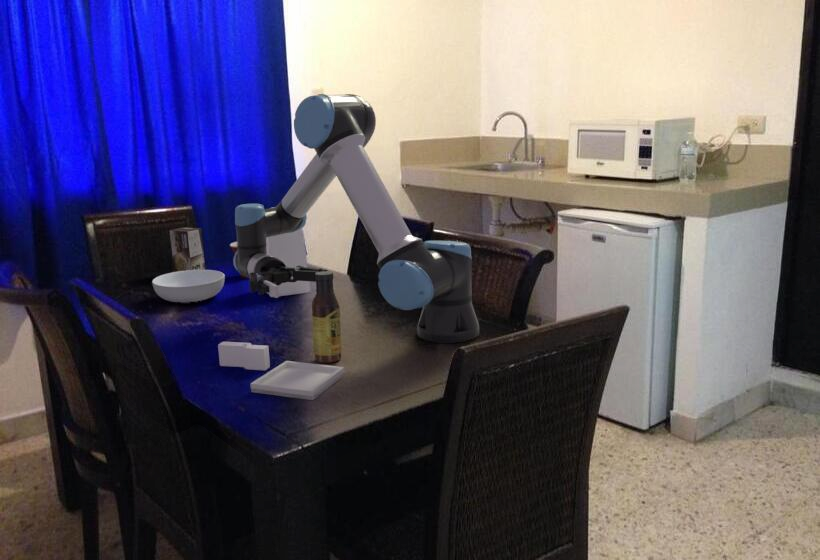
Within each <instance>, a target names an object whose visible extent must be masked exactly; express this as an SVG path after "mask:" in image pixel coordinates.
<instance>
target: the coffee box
mask: <svg viewBox="0 0 820 560" xmlns="http://www.w3.org/2000/svg"><path fill="white" fill-rule="evenodd" d="M202 233H203V231H202V228H199V227H196V228H195V227H178V228H174V229H169V237H170V247H171V254H172V255H171V256H172V263H173V272H178V271H187V270H206V265H205V264H206V263H205V255H204V245H203V235H202Z"/></svg>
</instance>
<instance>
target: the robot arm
mask: <svg viewBox="0 0 820 560" xmlns="http://www.w3.org/2000/svg"><path fill="white" fill-rule="evenodd" d="M376 120H377V119H376V113H375V111H374V109H373V107H372V105H371V103H370V102H368V101H367V99H365V98H364V97H361V96H360V95H357V94H353V93H352V94H351V93H348V94H347V93H346V94H327V95H326V94H325V93H324V94H323V93H320V94H316V95H310V96H306V97H305V98H304V99H303V100H302V101H300V103H299V104H298V106H297V107H296V109H295V113H294V119H293V129H294V133H295V137H296V138H297V141H299V143H300V144H301V145H302V146H304V147H306V148H308V149H311V150H312V149H314V150H315V153H316V154H315V155H314V156H313V158H312V159H311V161H309V163H308V164H307V166H306V167H305V168H304V169H303V171H302V172H301V174H300V175H299V176H298V177H297V179H296V180H295V182H294V183H293V184H292V186H291V187H290V188H289V190H288V191H287V193H286V194H285V195H284V197H283V198H282V199H281V201H280V202H278V204H277V205H275V206H274V208H272V207H270V208H265V207H264V205H263V204H260V203H245V204H244V203H243V204H240V205H237V206H236V207H235V209H234V224H235V230H236V232H235V233H236V242H237V252H236V253H235V254H234V256H233V259H232V260H233V261H232V262H233V267H234V268H235V269H236V271H237V272H238V273H239V274H240V273H241V274H242V275H244V276H246V277H249V278H248V279H249V292H250V293H255V292H256V291H258V295H259V296H262V295H263V296H264V293H265V294H267V295H269V296H270V295H271V296H273V297H272V298H275V299H277V298H279V297H280V296H279V292H278V286H279V285H281V284H282V283H286V282H296V281H309V282H311V283H316V280H315V273H317V272H323V271H328V269H325V268H324V269H323V268H322V267H321V268H315V267H308V266H307V267H303V266H297V268H288V267H286V265H285V264H284V263H283V262H282V261H281V260H280V259H277V258H275V257H273V256H270V255H268V254H267V250H266V238H267V237H271V236H276V235H280V234H285V233H292V232H295V231H297V230H300V229H302V230H303V228H304V227H305V226H306V223H307V219H308V217H307V214H308V212H309V211H310V210H311V208H312V207H313V206H314V205H315V204H316V202H318V200H319V199H320V197H321V196H322V195H323V193H324V192H325V191H326V189H327V188H328V187H329V186H330V184H331V183H332V182H333V180H335V178H336V177H337V179H338V181H339V183H340V185H341V186H342V188H343V190H344V192H345V194H346V196H347V198H348V200H349V201H350V203H351V205H352V207H353V209H354V210H355V212H356V214H357V216H358V217H359V219H360V221H361V223H362V225H363V226H364V229H365V230H366V232H367V234H368V236H369V238H370V239H371V241H372V244H373V245H374V247H375V249H376V251H377V252H378V257H377V261H376V264H377V267H378V268H379V272H378V282H377V285H378V288H379V291H380V294H381V295H382V296H383V298H384V299H385V300H386V302H387V303H388V304H390V305H391V306H392V307H394V308H396V309H400V310H403V311H412V310H414V309H415V310H416V309H420V308H422V310H421V313H420V317H419V320H418V322H417V336H418V337H419V338H420V339H422V340H424V341H427V342H431V343H437V344H439V343H440V344H455V342H458V343H464V342H467V341H466V340H469V341H472V340H474V339H476V338H478V336H479V335H480V323H479V320H478V318H477V315H476V312H475V311H476V310H475V308H474V305H473V301H472V300H473V298H472V297H473V295H472V291H473V289H472V288H473V286H472V283H473V282H472V280H473V279H472V277H473V276H472V273H473V272H472V268H473V267H472V263H473V262H472V260H473V257H472V249H471V245H469V244H468V243H466V242H463V241H462V242H461V241H453V240H425V241H423V239H422V238H419V237H416V236H414V235H413V234H412V233H411V231H410V229H409V227H408V226H407V224H406V222H405V220H404V218H403V216H402V215H401V213H400V211H399V209H398V207H397V205H396V204H395V202H394V200H393V198H392V197H391V195H390V192H389V191H388V189H387V188H386V186H385V184H384V182H383V180H382V179H381V177H380V175H379V173H378V171H377V169H376V167H375V166H374V163H373V162H372V160H371V158H370V157H369V155H368V153H367V151H366V150H365V147H366V146H367V145H368V143H369V141H370V140H371V139H372V137H373V134H374V133H375V131H376V124H377V121H376ZM292 276H293V279H291V278H292ZM271 296H270V297H271ZM471 339H472V340H471ZM463 341H464V342H463Z"/></svg>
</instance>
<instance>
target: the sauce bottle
mask: <svg viewBox="0 0 820 560" xmlns="http://www.w3.org/2000/svg"><path fill="white" fill-rule="evenodd" d="M315 280H316V282H315V286H316V289H315V292H316V294H315V296H314V297H313V300H312V303H311V321H312V323H311V324H312V341H313V342H312V345H313V353H314V360H315V361H316V362H318V363H320V364H321V363H322V364H330V363H334V362H338V361H340V360H341V359H342V352H343V351H342V349H343V347H342V345H343V343H342V326H341V325H342V323H341V307H340V304H339V302H338V299H337V297H336V294H335V290H334V281H333V280H334V272H332V271H323V272H317V273H315Z"/></svg>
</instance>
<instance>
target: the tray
mask: <svg viewBox="0 0 820 560" xmlns="http://www.w3.org/2000/svg"><path fill="white" fill-rule="evenodd" d="M345 373H346V372H345V367H344V366H338V365H337V366H336V365H328V364H321V363H320V364H319V363H309V362H302V361H291V360H285V361H284V362H282V363H280V364H279V365H278V366H276V367H274V368H272V369H271V370H269V371H267V372H266V373H265V374H263V375H262V376H260V377H258V378H256V379H255V380H254V381H251V382H250V393H255V394H256V393H257V394H264V395H271V396H272V395H273V396H277V397H286V398H291V399H292V398H294V399H301V400H307V401H308V400H309V401H314V400H315V399H316V398H317V397H319V396H321V395H322V394H323V393H324V392H325V391H326V390H328V389H330V387H332V386H333V385H334V384H335V383H336V382H339V381H340V379H342V378H344V376H346V375H345Z"/></svg>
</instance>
